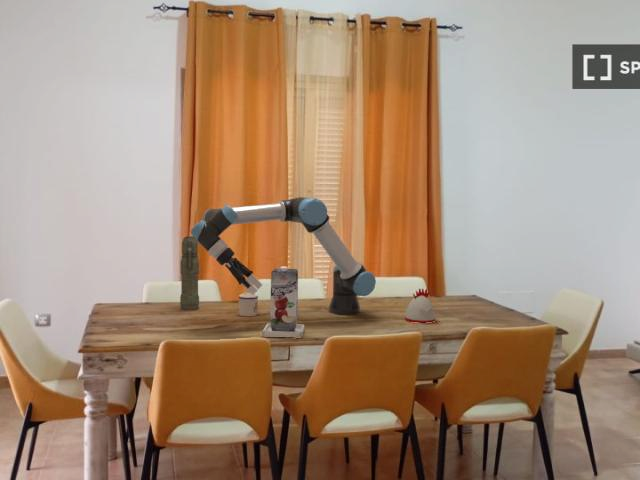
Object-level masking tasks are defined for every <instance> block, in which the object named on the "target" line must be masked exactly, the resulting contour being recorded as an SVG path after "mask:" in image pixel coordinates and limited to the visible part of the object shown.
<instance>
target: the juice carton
mask: <svg viewBox="0 0 640 480" xmlns="http://www.w3.org/2000/svg"><path fill="white" fill-rule="evenodd" d="M298 271H299V270H298V269H297V268H288V266H284V265H283V266H280V268H279V267H276V268H274V269H273V270H272V271H271V275H270V276H271V278H270V307H269V309H270V313H269V315H270V317H269V318H270V320H269V321H270V322H269V323H271V329H272V331H286V332H294V330H295V328H296V325H297V324H298V311H299V310H298V308H299V307H298V304H299V301H298V300H299V277H298V276H299V273H298Z"/></svg>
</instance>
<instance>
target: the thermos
mask: <svg viewBox="0 0 640 480" xmlns="http://www.w3.org/2000/svg"><path fill="white" fill-rule="evenodd" d="M198 253H199V242H198V241H197V240H196V239H195V238H194V236H184V237H182V242H181V259H180V271H179V272H180V274H181V284H180V285H181V292H180V293H181V294H180V300H179V304H180V310H181V311H187V310H190V311H197V310H199V308H200V306H199V304H200V296H199V274H200V261H199V256H198Z"/></svg>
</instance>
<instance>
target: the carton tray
mask: <svg viewBox="0 0 640 480" xmlns="http://www.w3.org/2000/svg"><path fill="white" fill-rule="evenodd" d="M303 332H305V324H302V323H297V325H296V328H295V330H294V332H286V331H272V329H271V323H270V322H268V323H266V325H265V326H264V328H263V330H262V338H267V337H302V338H303V335H304V333H303Z"/></svg>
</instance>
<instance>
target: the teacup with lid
mask: <svg viewBox="0 0 640 480" xmlns="http://www.w3.org/2000/svg"><path fill="white" fill-rule="evenodd" d="M238 298H239V299H238V316H241V317H246V318H247V317H256V316H257V315H258V309H259V308H258V307H259V306H258V305H259V303H258V301H259V300H258V299H259V296H258V294H256V293H255V294H254V295H252V294H251V293H250V292H249V291H248V290H247V289H246V291H245V292H243V293H242V294H241V293H240V294H239V295H238Z"/></svg>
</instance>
